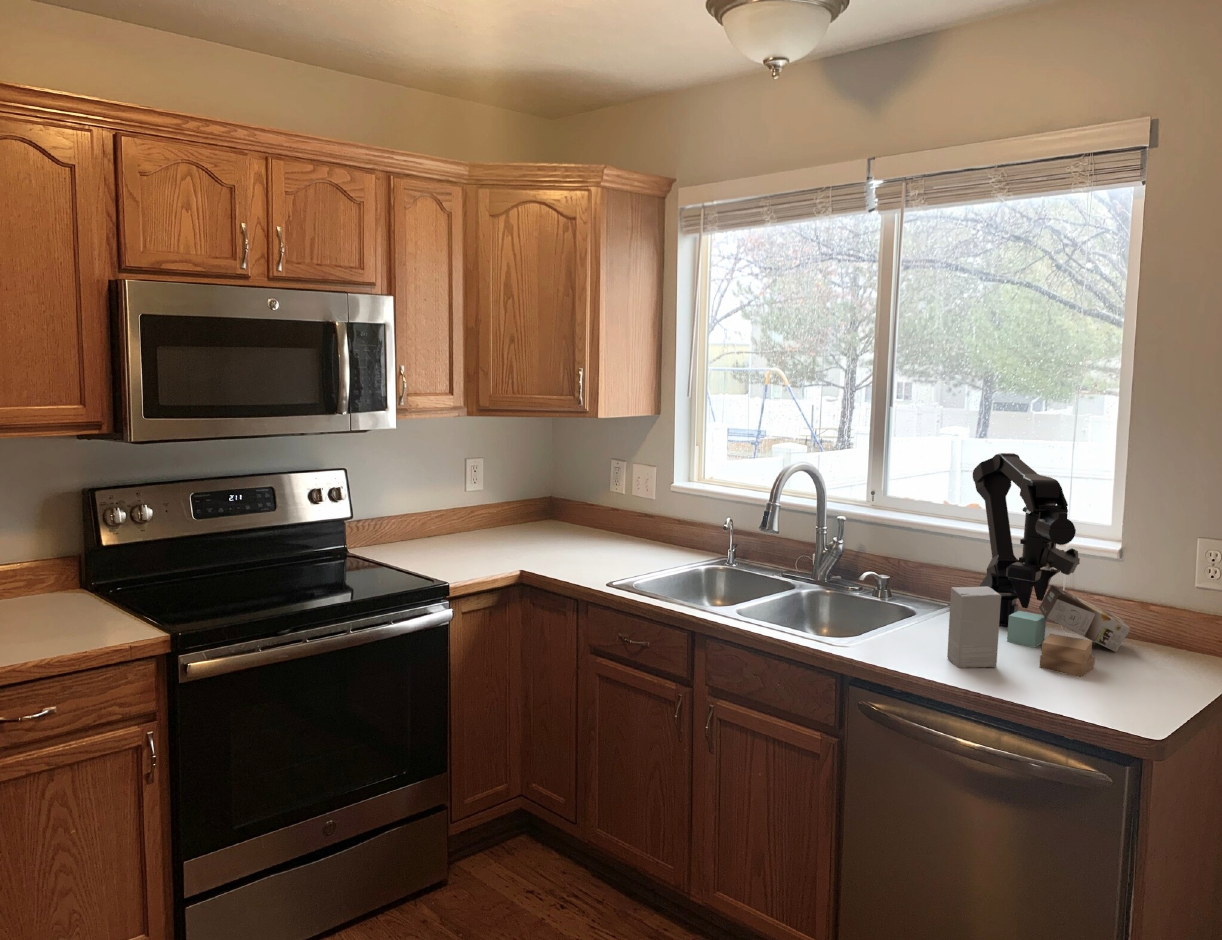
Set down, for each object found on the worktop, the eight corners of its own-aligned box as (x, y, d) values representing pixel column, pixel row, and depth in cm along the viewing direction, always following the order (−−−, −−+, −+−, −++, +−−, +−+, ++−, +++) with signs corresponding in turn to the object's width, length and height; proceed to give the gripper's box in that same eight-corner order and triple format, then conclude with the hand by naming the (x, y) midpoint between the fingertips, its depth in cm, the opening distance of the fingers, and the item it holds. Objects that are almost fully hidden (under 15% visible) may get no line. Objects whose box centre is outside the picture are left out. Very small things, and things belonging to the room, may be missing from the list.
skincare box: (983, 658, 199) (989, 585, 197) (998, 669, 192) (1004, 593, 190) (944, 658, 198) (949, 584, 196) (957, 669, 191) (962, 593, 189)
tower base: (1039, 669, 194) (1040, 655, 193) (1053, 661, 199) (1054, 647, 199) (1080, 679, 188) (1081, 665, 188) (1093, 670, 194) (1094, 656, 193)
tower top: (1041, 656, 192) (1042, 642, 192) (1049, 647, 199) (1050, 633, 199) (1084, 664, 188) (1085, 650, 188) (1091, 654, 194) (1092, 640, 194)
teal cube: (1006, 641, 211) (1008, 615, 210) (1017, 636, 215) (1019, 610, 215) (1034, 647, 207) (1036, 621, 206) (1044, 641, 211) (1046, 615, 210)
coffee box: (1131, 628, 203) (1060, 593, 205) (1116, 653, 204) (1045, 618, 207) (1119, 617, 212) (1051, 583, 214) (1105, 641, 213) (1037, 608, 216)
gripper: (1062, 547, 196) (1055, 620, 198) (1090, 535, 209) (1084, 603, 211) (1007, 538, 203) (1002, 609, 205) (1038, 528, 217) (1033, 594, 219)
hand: (1032, 604), depth 210 cm, fingers open, 9 cm apart
